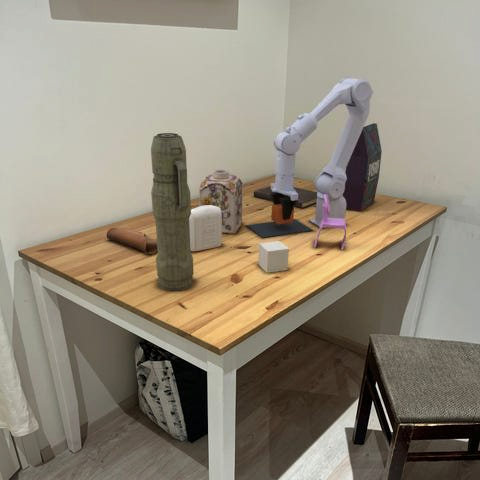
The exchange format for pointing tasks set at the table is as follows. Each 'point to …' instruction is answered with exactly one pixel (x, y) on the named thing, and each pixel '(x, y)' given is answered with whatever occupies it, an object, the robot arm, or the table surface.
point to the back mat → (278, 228)
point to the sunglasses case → (133, 239)
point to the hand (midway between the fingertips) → (282, 216)
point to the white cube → (273, 256)
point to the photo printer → (205, 227)
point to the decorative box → (363, 170)
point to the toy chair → (330, 221)
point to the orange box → (280, 215)
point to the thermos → (171, 212)
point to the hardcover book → (304, 196)
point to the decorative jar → (223, 198)
